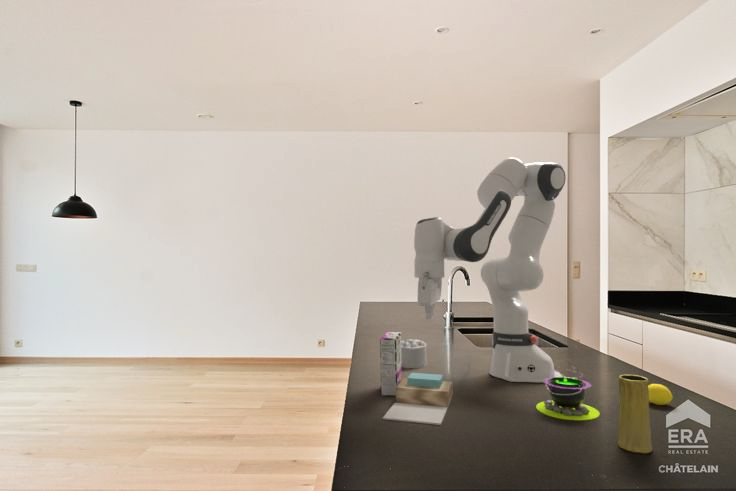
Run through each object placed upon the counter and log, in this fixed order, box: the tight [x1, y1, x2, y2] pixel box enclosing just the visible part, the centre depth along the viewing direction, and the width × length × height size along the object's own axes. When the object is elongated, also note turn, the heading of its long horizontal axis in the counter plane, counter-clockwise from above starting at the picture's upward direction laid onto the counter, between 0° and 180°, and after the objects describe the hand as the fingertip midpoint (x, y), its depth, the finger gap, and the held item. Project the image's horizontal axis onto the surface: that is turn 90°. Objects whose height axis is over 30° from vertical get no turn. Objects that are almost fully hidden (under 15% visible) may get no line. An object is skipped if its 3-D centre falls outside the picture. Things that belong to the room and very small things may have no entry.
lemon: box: [648, 383, 674, 406], centre depth 122 cm, size 7×5×5 cm
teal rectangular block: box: [407, 372, 444, 388], centre depth 129 cm, size 9×6×2 cm, turn 73°
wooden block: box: [395, 377, 454, 408], centre depth 128 cm, size 14×10×4 cm
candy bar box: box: [379, 331, 403, 397], centre depth 136 cm, size 11×5×16 cm, turn 168°
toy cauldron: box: [535, 365, 600, 421], centre depth 118 cm, size 15×15×11 cm
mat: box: [382, 402, 448, 426], centre depth 116 cm, size 14×12×1 cm
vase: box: [617, 374, 653, 454], centre depth 95 cm, size 6×6×14 cm
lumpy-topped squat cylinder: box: [401, 338, 428, 369], centre depth 169 cm, size 10×13×9 cm
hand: (429, 318), depth 137 cm, fingers closed
